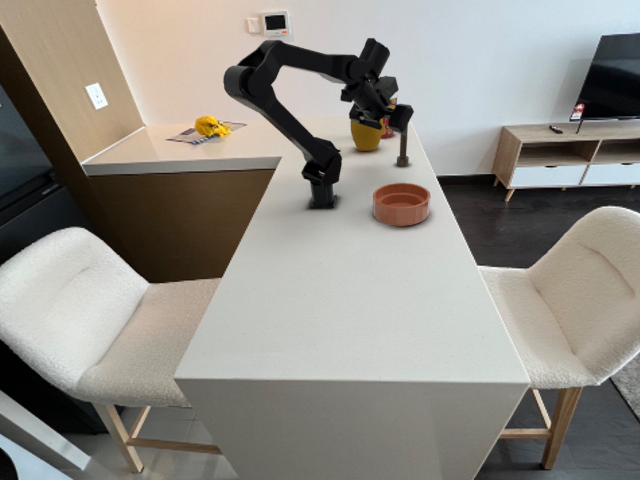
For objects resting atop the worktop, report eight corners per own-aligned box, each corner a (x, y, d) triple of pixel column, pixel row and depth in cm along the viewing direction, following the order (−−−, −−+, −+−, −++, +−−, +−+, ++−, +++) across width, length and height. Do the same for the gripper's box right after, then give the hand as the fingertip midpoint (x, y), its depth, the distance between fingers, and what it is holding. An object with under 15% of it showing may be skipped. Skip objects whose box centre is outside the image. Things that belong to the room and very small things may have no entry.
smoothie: (370, 135, 131) (369, 76, 118) (388, 131, 133) (390, 72, 121) (381, 140, 125) (381, 79, 112) (400, 136, 127) (403, 75, 115)
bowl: (430, 228, 76) (432, 207, 73) (371, 227, 78) (371, 208, 75) (426, 200, 86) (428, 182, 83) (374, 201, 88) (374, 183, 85)
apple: (359, 157, 113) (358, 116, 105) (346, 148, 121) (344, 109, 113) (388, 151, 116) (389, 110, 108) (374, 142, 124) (373, 104, 116)
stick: (408, 167, 104) (411, 118, 95) (396, 167, 104) (398, 119, 96) (408, 162, 107) (410, 115, 98) (396, 163, 107) (398, 115, 98)
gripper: (411, 67, 77) (435, 109, 89) (354, 64, 88) (382, 101, 101) (388, 113, 78) (414, 147, 91) (334, 103, 90) (364, 135, 102)
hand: (393, 131), depth 96 cm, fingers open, 9 cm apart
